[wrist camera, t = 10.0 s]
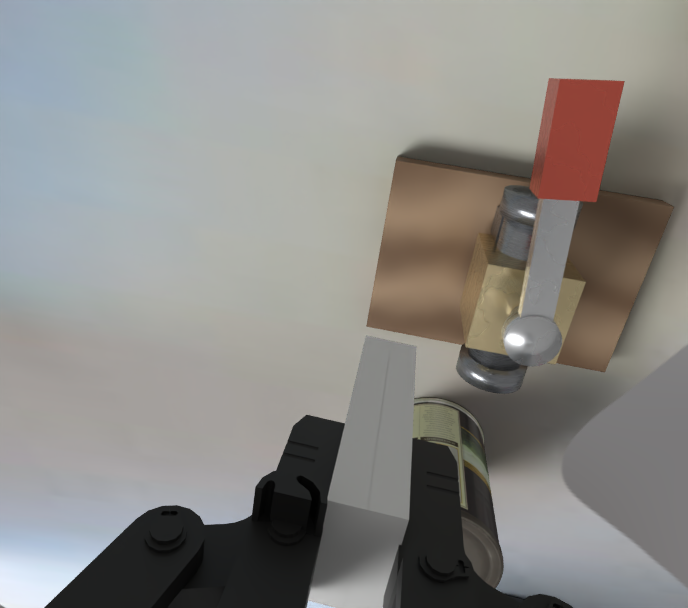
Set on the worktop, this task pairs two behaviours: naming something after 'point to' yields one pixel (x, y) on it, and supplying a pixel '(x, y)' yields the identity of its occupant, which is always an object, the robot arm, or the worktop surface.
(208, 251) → the worktop surface
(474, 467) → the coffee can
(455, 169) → the base board
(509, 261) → the valve body
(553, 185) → the valve lever
